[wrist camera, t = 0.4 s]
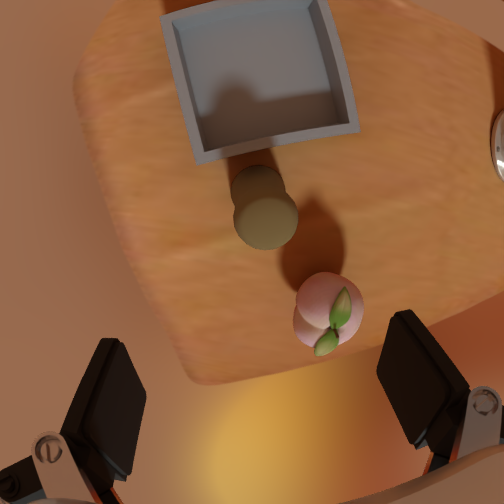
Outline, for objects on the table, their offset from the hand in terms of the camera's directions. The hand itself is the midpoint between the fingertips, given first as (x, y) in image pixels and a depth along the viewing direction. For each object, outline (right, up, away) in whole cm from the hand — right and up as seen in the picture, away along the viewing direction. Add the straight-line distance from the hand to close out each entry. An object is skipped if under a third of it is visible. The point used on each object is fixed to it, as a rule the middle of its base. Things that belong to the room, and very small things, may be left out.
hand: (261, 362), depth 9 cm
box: (0, +22, +17) cm, 28 cm away
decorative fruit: (+8, -1, +28) cm, 29 cm away
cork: (0, +10, +23) cm, 25 cm away
